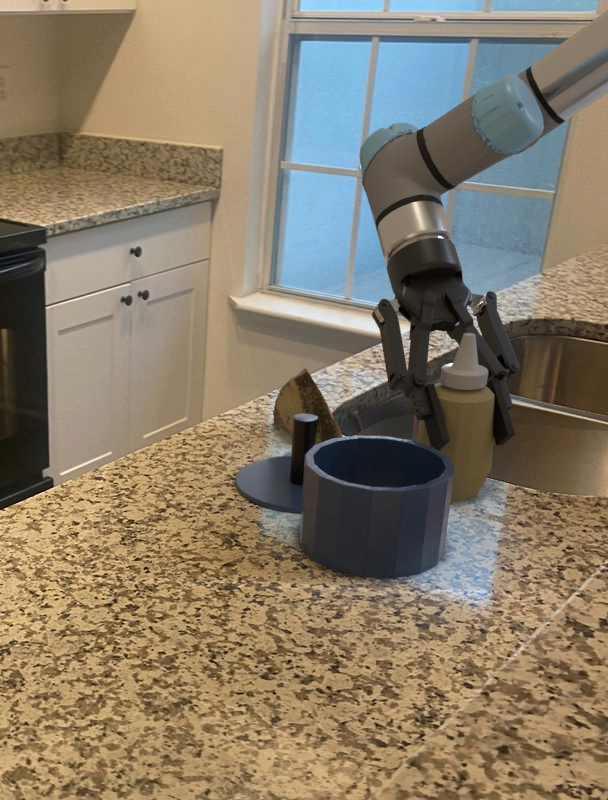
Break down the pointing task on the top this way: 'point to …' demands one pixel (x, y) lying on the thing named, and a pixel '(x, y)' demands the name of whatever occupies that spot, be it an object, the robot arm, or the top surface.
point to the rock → (304, 406)
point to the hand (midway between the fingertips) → (473, 442)
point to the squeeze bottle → (466, 419)
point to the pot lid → (280, 471)
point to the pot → (375, 506)
